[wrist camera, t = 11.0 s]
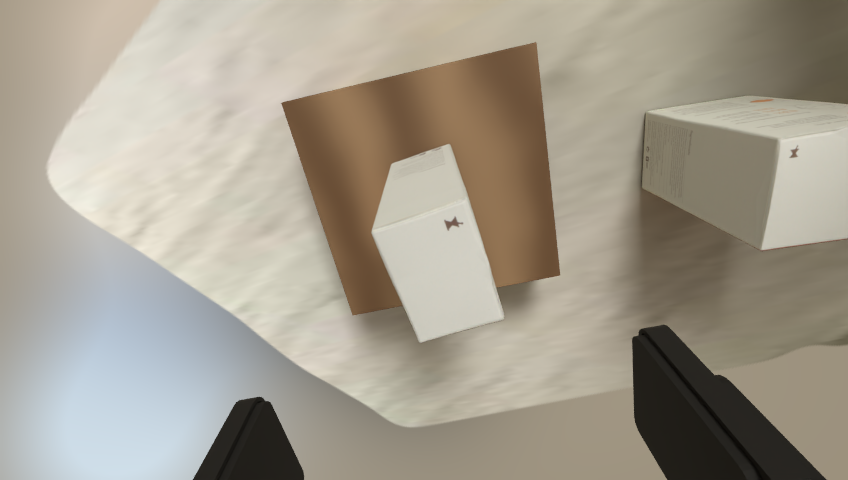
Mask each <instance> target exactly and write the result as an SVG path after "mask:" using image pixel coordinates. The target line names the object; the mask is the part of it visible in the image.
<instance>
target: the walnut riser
mask: <svg viewBox="0 0 848 480" xmlns="http://www.w3.org/2000/svg"><path fill="white" fill-rule="evenodd" d="M282 106H283V109H284V112H285V115H286V118H287V121H288V124H289V127H290V130H291V133H292V136H293V139H294V142H295V145H296V148H297V151H298V154H299V157H300V160H301V163H302V166H303V169H304V172H305V175H306V178H307V181H308V184H309V187H310V190H311V193H312V196H313V199H314V202H315V204H316V207H317V210H318V213H319V216H320V219H321V222H322V225H323V228H324V231H325V234H326V237H327V240H328V243H329V246H330V249H331V252H332V255H333V258H334V261H335V264H336V267H337V270H338V273H339V276H340V279H341V282H342V285H343V288H344V291H345V294H346V297H347V300H348V303H349V306H350V309H351V312H352V315H357V314H362V313H368V312H373V311H378V310H383V309H388V308H393V307H399V306H403V304H402V302H401V300H400V298H399V296H398V294H397V291H396V289H395V287H394V285H393V283H392V281H391V278H390V276H389V274H388V272H387V269H386V267H385V265H384V262H383V260H382V258H381V255H380V253H379V250H378V248H377V246H376V243H375V241H374V238H373V236H372V233H371V232H372V228H373V225H374V221H375V218H376V214H377V211H378V207H379V204H380V201H381V197H382V194H383V190H384V187H385V184H386V180H387V177H388V174H389V170H390V167H391V164H392V163H395V162H398V161H401V160H404V159H407V158H409V157H412V156H415V155H418V154H420V153H423V152H426V151H429V150H432V149H435V148H438V147H441V146H444V145H447V144H450V145H451V148H452V151H453V154H454V157H455V160H456V163H457V166H458V169H459V172H460V175H461V177H462V180H463V183H464V186H465V188H466V191H467V194H468V197H469V201H470V204H471V207H472V210H473V213H474V216H475V220H476V223H477V226H478V229H479V232H480V235H481V239H482V242H483V245H484V249H485V252H486V255H487V258H488V261H489V264H490V268H491V272H492V276H493V279H494V282H495V286H496V288H497V287H502V286H508V285H513V284H518V283H523V282H528V281H534V280H539V279H544V278H549V277H554V276H559V275H560V269H559V259H558V249H557V240H556V230H555V220H554V210H553V201H552V191H551V181H550V171H549V161H548V152H547V142H546V132H545V122H544V113H543V103H542V93H541V83H540V73H539V64H538V54H537V44H536V42H535V43H531V44H527V45H522V46H518V47H514V48H509V49H505V50H501V51H497V52H493V53H488V54H484V55H480V56H476V57H472V58H467V59H463V60H459V61H455V62H451V63H446V64H442V65H438V66H434V67H429V68H425V69H421V70H417V71H413V72H408V73H404V74H400V75H396V76H392V77H387V78H383V79H379V80H375V81H371V82H366V83H362V84H358V85H354V86H349V87H345V88H341V89H337V90H333V91H328V92H324V93H320V94H316V95H312V96H307V97H303V98H299V99H295V100H291V101H287V102H283V103H282Z"/></svg>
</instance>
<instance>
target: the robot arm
mask: <svg viewBox="0 0 848 480" xmlns="http://www.w3.org/2000/svg"><path fill="white" fill-rule="evenodd" d="M632 349H633V387H634V418H635V423H636V426H637V428H638V431H639V433H640V434H641V436H642V438H643V439H644V441H645V443H646V444H647V446H648V448H649V450H650V451H651V453H652V455H653V456H654V458H655V460H656V461H657V463H658V465H659V466H660V468H661V470H662V472H663V473H664V475H665V477H666V478H667V480H826V479H825V478H824V477H823V476H822V475H821V474H820V473H819V472H818V471H817V470H816V469H815V468H814V467H813V466H812V464H811V463H810V462H809V461H807V459H806V458H805V457H804V456H803V455H802V454H801V453H800V452H799V451H798V450H797V449H796V448H795V447H794V446H793V445H792V444H791V443H790V442H789V441H788V440H787V439H786V438H785V437H784V436H783V435H782V434H781V433H780V432H779V431H778V430H777V429H776V428H775V427H774V426H773V425H772V424H771V423H770V422H769V421H768V420H767V419H766V417H764V416H763V414H762V413H760V411H759V410H758V409H757V408H756V407H755V406H754V405H753V404H752V403H751V402H750V401H749V400H748V399H747V398H746V397H745V396H744V395H743V394H742V393H741V392H740V391H739V390H738V389H737V388H736V387H735V386H734V385H733V384H732V383H731V382H730V381H729V380H728V379H727V378H725V377H723V376H721V375H714V374H713V373H712V372H711V371H710V370H709V369H708V368H707V367H706V366H705V365H704V364H703V363H702V362H701V361H700V360H699V358H698V357H697V356H696V355H695V354H694V353H693V352H692V351H691V350H690V349H689V348H688V347H687V346H686V345H685V344H684V343H683V342H682V341H681V339H680V338H679V337H678V336H677V335H676V334H675V333H674V332H673V331H672V330H671V329H670V328H669V327H668V326H666V325H661V326H655V327H649V328H644V329H640V331H639V335H638V336H634V337H633V339H632ZM193 480H304V473H303V470H302V467H301V465H300V464H299V461H298V459H297V457H296V455H295V453H294V451H293V449H292V447H291V444H290V443H289V440H288V438H287V436H286V434H285V432H284V430H283V428H282V425H281V423H280V421H279V419H278V417H277V415H276V413H275V411H274V409H273V407H272V405H271V403H270V402H268V401H266V402H265V400H264V399H263V398H262V397H256V398H250V399H245V400H239V401H238V402H236V404H235V405H234V407H233V409H232V410H231V412H230V414H229V416H228V418H227V419H226V421H225V423H224V425H223V427H222V428H221V430H220V432H219V434H218V436H217V437H216V439H215V441H214V443H213V445H212V446H211V448H210V450H209V452H208V454H207V455H206V457H205V459H204V461H203V463H202V464H201V466H200V468H199V470H198V472H197V473H196V475H195V477H194V479H193Z"/></svg>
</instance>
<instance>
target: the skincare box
mask: <svg viewBox="0 0 848 480" xmlns="http://www.w3.org/2000/svg"><path fill="white" fill-rule="evenodd" d="M371 233H372V236H373V238H374V241H375V243H376V246H377V248H378V250H379V253H380V255H381V258H382V260H383V262H384V265H385V267H386V269H387V272H388V274H389V276H390V278H391V281H392V283H393V285H394V287H395V289H396V291H397V294H398V296H399V298H400V300H401V302H402V304H403V307H404V309H405V311H406V314H407V316H408V318H409V321H410V323H411V325H412V327H413V330H414V332H415V334H416V336H417V339H418V341H419V342H420V343H422V342H426V341H429V340H432V339H436V338H439V337H443V336H446V335H449V334H453V333H457V332H461V331H465V330H468V329H472V328H475V327H479V326H483V325H487V324H491V323H495V322H499V321H502V320H504V311H503V308H502V305H501V302H500V299H499V295H498V292H497V289H496V286H495V282H494V279H493V276H492V272H491V268H490V264H489V261H488V258H487V255H486V252H485V249H484V245H483V242H482V239H481V235H480V232H479V229H478V226H477V223H476V220H475V216H474V213H473V210H472V207H471V204H470V201H469V197H468V194H467V191H466V188H465V186H464V183H463V180H462V177H461V175H460V172H459V169H458V166H457V163H456V160H455V157H454V154H453V151H452V148H451V145H450V144H447V145H444V146H441V147H438V148H435V149H432V150H429V151H426V152H423V153H420V154H418V155H415V156H412V157H409V158H407V159H404V160H401V161H398V162H395V163H392V164H391V167H390V170H389V174H388V177H387V180H386V184H385V187H384V190H383V194H382V197H381V201H380V204H379V207H378V211H377V214H376V218H375V221H374V225H373V228H372V232H371Z"/></svg>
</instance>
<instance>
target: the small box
mask: <svg viewBox="0 0 848 480" xmlns="http://www.w3.org/2000/svg"><path fill="white" fill-rule="evenodd" d="M642 188H643V189H645V190H647V191H649V192H650V193H652V194H654V195H656V196H658V197H660V198H662V199H664V200H666V201H668V202H669V203H671V204H673V205H675V206H677V207H679V208H681V209H683V210H685V211H687V212H688V213H690V214H692V215H694V216H696V217H698V218H700V219H702V220H703V221H705V222H707V223H709V224H711V225H713V226H715V227H717V228H719V229H721V230H723V231H724V232H726V233H728V234H730V235H732V236H734V237H736V238H738V239H740V240H742V241H743V242H745V243H747V244H749V245H751V246H753V247H754V248H757V249H758V250H760V251H765V250H772V249H779V248H787V247H794V246H801V245H809V244H816V243H822V242H830V241H837V240H845V239H848V104H840V103H829V102H818V101H805V100H794V99H783V98H772V97H762V96H752V95H748V96H741V97H734V98H727V99H721V100H714V101H708V102H701V103H695V104H689V105H682V106H676V107H670V108H664V109H658V110H652V111H648V112H646V117H645V134H644V154H643V175H642Z"/></svg>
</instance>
